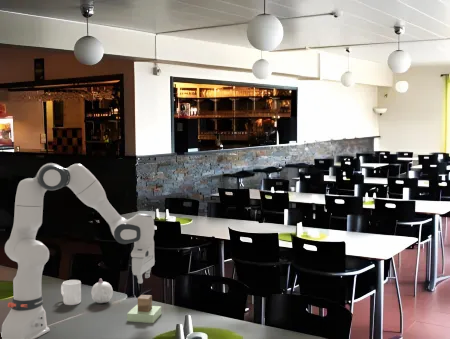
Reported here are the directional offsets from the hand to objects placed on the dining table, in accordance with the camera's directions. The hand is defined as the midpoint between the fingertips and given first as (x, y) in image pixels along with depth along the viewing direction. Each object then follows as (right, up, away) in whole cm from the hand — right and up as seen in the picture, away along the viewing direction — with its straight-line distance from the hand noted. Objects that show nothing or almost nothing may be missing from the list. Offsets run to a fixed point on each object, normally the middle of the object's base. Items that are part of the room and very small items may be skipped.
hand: (143, 280), depth 248 cm
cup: (-40, -15, +23) cm, 48 cm away
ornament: (-23, -16, +22) cm, 36 cm away
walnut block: (0, -14, +1) cm, 14 cm away
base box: (0, -18, +2) cm, 18 cm away
